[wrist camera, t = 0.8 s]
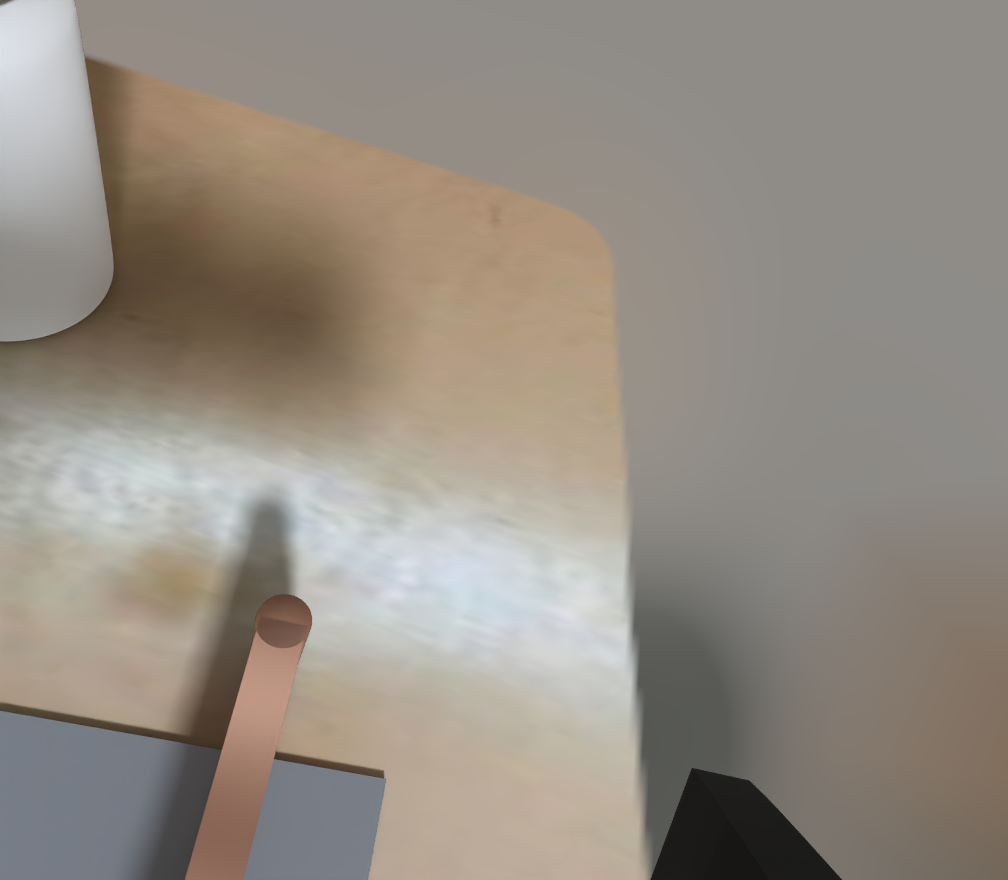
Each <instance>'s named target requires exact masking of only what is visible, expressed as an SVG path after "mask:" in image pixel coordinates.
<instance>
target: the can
mask: <svg viewBox="0 0 1008 880" xmlns="http://www.w3.org/2000/svg"><path fill="white" fill-rule="evenodd" d="M113 271H114V263H113V252H112V244H111V236H110V229H109V222H108V214H107V207H106V200H105V193H104V186H103V179H102V172H101V165H100V158H99V151H98V144H97V138H96V131H95V124H94V117H93V110H92V103H91V97H90V90H89V83H88V77H87V70H86V63H85V57H84V50H83V44H82V38H81V31H80V26H79V21H78V15H77V10H76V5H75V2H74V0H0V341H23V340H30V339H36V338H40V337H44V336H48V335H51V334H54V333H57V332H60V331H62V330H64V329H67V328H69V327H71V326H73V325H74V324H76V323H78V322H79V321H81V320H82V319H84V318H85V317H87V316H88V315H89V314H90V313H91V312H92V311H94V310H95V309H96V307H97V306H98V305H99V304H100V303H101V302H102V300H103V299H104V297H105V296H106V294H107V292H108V290H109V288H110V285H111V282H112V278H113Z"/></svg>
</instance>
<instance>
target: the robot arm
mask: <svg viewBox="0 0 1008 880" xmlns="http://www.w3.org/2000/svg"><path fill="white" fill-rule="evenodd" d="M651 880H842V879H841V878H840V877H839V876H838V875H837V874H836V873H835V872H834V870H833V869H832V868H831V867H830V866H829V865H828V864H827V863H826V861H825V860H824V859H823V858H822V857H821V856H820V855H819V854H818V853H817V852H816V850H815V849H814V848H813V847H812V846H811V845H810V844H809V843H808V841H807V840H806V839H805V838H804V837H803V836H802V835H801V834H800V833H799V832H798V831H797V829H796V828H795V827H794V826H793V825H792V824H791V823H790V822H789V821H788V820H787V819H786V818H785V816H784V815H783V814H782V813H781V812H780V811H779V810H778V809H777V808H776V807H775V806H774V805H773V804H772V803H771V802H770V801H769V800H768V798H766V796H765V795H764V794H763V793H761V792H760V791H759V790H758V789H757V788H756V787H755V786H754V785H753V784H752V783H751V782H750V781H749V780H744V779H739V778H735V777H731V776H726V775H722V774H717V773H712V772H708V771H703V770H699V769H694V768H692V769H691V772H690V775H689V777H688V780H687V783H686V786H685V788H684V791H683V794H682V796H681V799H680V802H679V804H678V807H677V810H676V812H675V815H674V818H673V821H672V823H671V826H670V829H669V831H668V834H667V837H666V839H665V842H664V845H663V847H662V850H661V853H660V856H659V858H658V861H657V864H656V867H655V869H654V872H653V874H652V877H651Z"/></svg>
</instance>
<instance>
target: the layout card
mask: <svg viewBox="0 0 1008 880" xmlns="http://www.w3.org/2000/svg"><path fill="white" fill-rule="evenodd" d="M221 752H222V750H220V749H214V748H208V747H203V746H197V745H191V744H186V743H180V742H174V741H169V740H163V739H157V738H152V737H146V736H140V735H135V734H129V733H123V732H118V731H112V730H106V729H101V728H95V727H89V726H84V725H78V724H72V723H67V722H61V721H55V720H50V719H44V718H38V717H33V716H27V715H21V714H16V713H10V712H4V711H0V880H185V877H186V874H187V870H188V867H189V863H190V860H191V857H192V853H193V850H194V846H195V843H196V839H197V836H198V832H199V829H200V825H201V822H202V818H203V815H204V811H205V808H206V804H207V801H208V797H209V794H210V790H211V787H212V783H213V780H214V776H215V773H216V769H217V766H218V762H219V759H220V755H221ZM385 782H386V779H384V778H378V777H372V776H367V775H361V774H355V773H350V772H344V771H338V770H333V769H327V768H321V767H316V766H310V765H304V764H299V763H293V762H287V761H282V760H276V759H274V760H273V764H272V768H271V772H270V776H269V780H268V784H267V788H266V792H265V796H264V800H263V803H262V807H261V811H260V815H259V819H258V823H257V827H256V831H255V835H254V839H253V843H252V847H251V851H250V855H249V859H248V863H247V867H246V871H245V875H244V879H243V880H368V876H369V871H370V865H371V860H372V854H373V848H374V843H375V837H376V832H377V826H378V821H379V815H380V810H381V804H382V799H383V793H384V788H385Z"/></svg>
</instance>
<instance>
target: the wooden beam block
mask: <svg viewBox="0 0 1008 880" xmlns="http://www.w3.org/2000/svg"><path fill="white" fill-rule="evenodd" d="M311 626H312V615H311V612H310V609H309V608H308V606H307V605H306V603H305V602H304V601H302V600H301V599H299V598H298V597H295V596H292V595H277V596H274V597H272V598H270V599H268V600H267V601H266V602H264V603H263V605H262V606H261V607H260V608H259V610H258V612H257V615H256V620H255V626H254V632H253V638H252V645H251V651H250V654H249V658H248V661H247V665H246V668H245V672H244V675H243V679H242V682H241V686H240V689H239V693H238V696H237V700H236V703H235V707H234V710H233V714H232V717H231V721H230V724H229V727H228V731H227V734H226V738H225V741H224V745H223V748H222V752H221V755H220V759H219V762H218V766H217V769H216V773H215V776H214V780H213V783H212V787H211V790H210V794H209V797H208V801H207V804H206V808H205V811H204V815H203V818H202V822H201V825H200V829H199V832H198V836H197V839H196V843H195V846H194V850H193V853H192V857H191V860H190V863H189V867H188V870H187V874H186V877H185V880H243V879H244V875H245V871H246V867H247V863H248V859H249V855H250V851H251V847H252V843H253V839H254V835H255V831H256V827H257V823H258V819H259V815H260V811H261V807H262V803H263V800H264V796H265V792H266V788H267V784H268V780H269V776H270V772H271V768H272V764H273V760H274V756H275V752H276V748H277V744H278V740H279V736H280V732H281V728H282V725H283V721H284V717H285V713H286V709H287V705H288V701H289V697H290V693H291V689H292V685H293V681H294V677H295V673H296V669H297V665H298V662H299V660H300V657H301V654H302V651H303V649H304V646H305V643H306V640H307V638H308V635H309V632H310V629H311Z"/></svg>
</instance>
